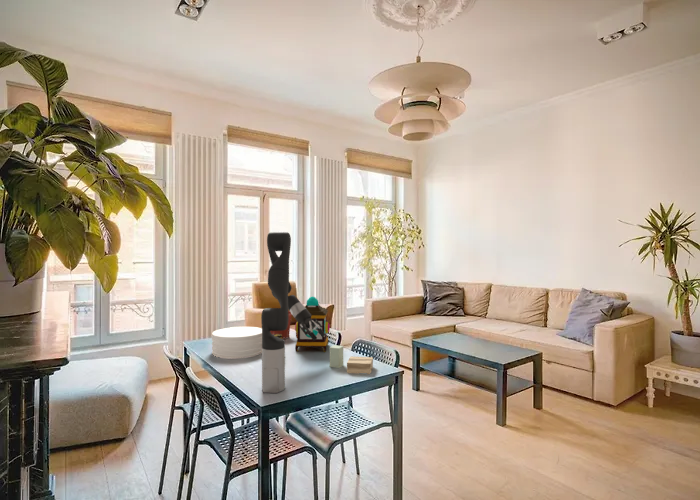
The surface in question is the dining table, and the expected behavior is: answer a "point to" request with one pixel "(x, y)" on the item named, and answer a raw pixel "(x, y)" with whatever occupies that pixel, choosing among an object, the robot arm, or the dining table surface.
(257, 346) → the plate stack
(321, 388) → the dining table surface
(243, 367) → the dining table surface
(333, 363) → the sage pillar
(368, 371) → the oak block
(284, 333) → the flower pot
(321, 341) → the decorative lantern
